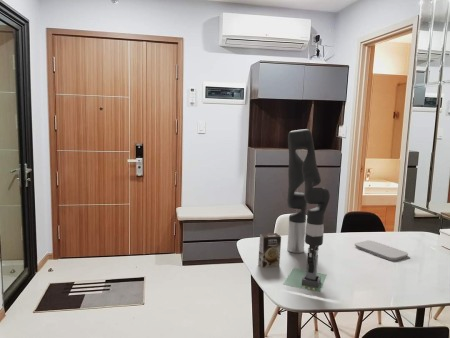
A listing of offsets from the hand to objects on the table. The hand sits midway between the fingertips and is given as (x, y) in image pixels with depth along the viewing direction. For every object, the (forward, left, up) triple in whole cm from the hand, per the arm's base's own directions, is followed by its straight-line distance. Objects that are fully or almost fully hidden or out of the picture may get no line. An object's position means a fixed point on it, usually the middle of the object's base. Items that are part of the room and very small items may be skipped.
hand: (311, 270), depth 159 cm
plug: (0, 0, -3) cm, 3 cm away
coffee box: (-12, -23, -7) cm, 27 cm away
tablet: (-63, +28, -8) cm, 70 cm away
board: (-3, -3, -7) cm, 8 cm away
